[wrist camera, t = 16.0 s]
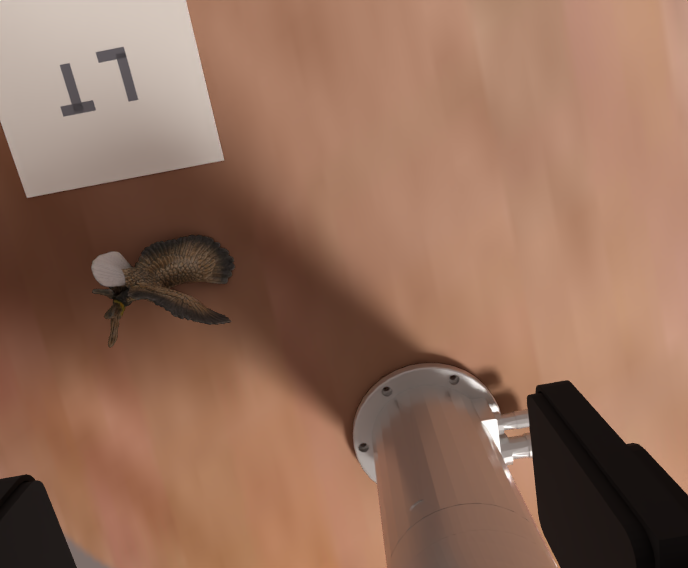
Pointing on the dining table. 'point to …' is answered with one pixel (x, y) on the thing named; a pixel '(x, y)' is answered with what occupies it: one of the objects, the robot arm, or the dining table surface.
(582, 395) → the robot arm
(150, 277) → the eagle figurine
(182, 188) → the dining table surface
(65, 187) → the white square panel
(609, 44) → the dining table surface
